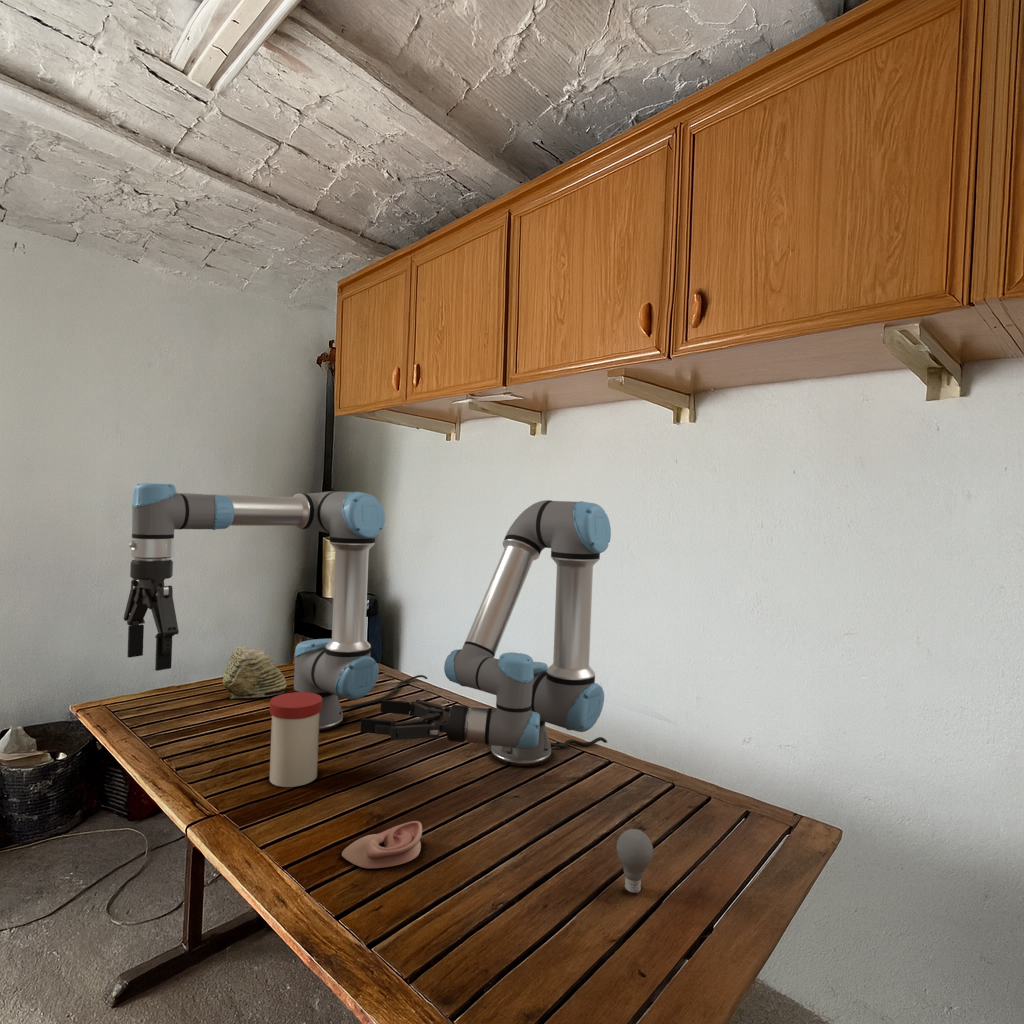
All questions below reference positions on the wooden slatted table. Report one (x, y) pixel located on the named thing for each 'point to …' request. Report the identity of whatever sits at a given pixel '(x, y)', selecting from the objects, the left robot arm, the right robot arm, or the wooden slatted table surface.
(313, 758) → the jar
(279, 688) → the fossil
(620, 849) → the light bulb
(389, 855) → the anatomical model
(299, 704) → the lid
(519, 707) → the right robot arm
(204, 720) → the wooden slatted table surface
